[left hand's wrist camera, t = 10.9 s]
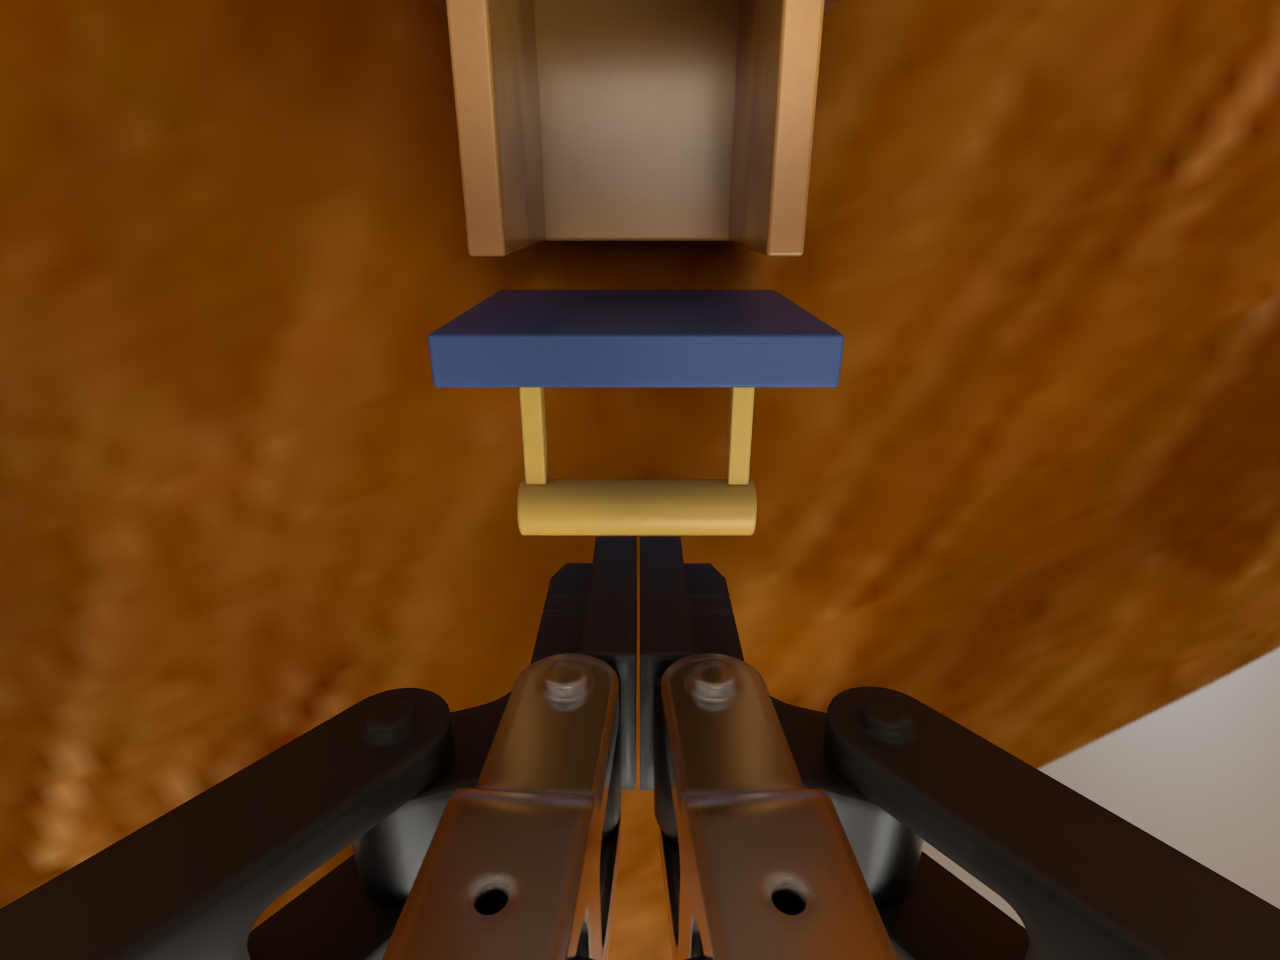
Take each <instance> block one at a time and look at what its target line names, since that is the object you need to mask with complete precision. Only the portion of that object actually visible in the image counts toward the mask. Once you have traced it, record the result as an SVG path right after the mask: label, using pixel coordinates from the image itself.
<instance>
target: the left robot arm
mask: <svg viewBox="0 0 1280 960" xmlns="http://www.w3.org/2000/svg"><path fill="white" fill-rule="evenodd" d="M732 611H733V610H732V606H731V601H730V599H729V593H728V588H727V584H726V579H725V578H724V577H723V576H722V575H721V574H720V573H719V572H718V571H717V570H716V569H715V568H714V567H713V566H712V565H711V564H683V555H682V547H681V539H680V537H640V790H654V807H655V817H656V820H657V822H658V824H659V845H660V853H661V862H662V870H663V879H664V887H665V896H666V904H667V913H668V921H669V930H670V938H671V947H672V955H673V960H1280V909H1278V908H1276V907H1275V906H1273V905H1271V904H1269V903H1268V902H1266V901H1264V900H1263V899H1261V898H1259V897H1257V896H1256V895H1254V894H1252V893H1250V892H1249V891H1247V890H1245V889H1244V888H1242V887H1240V886H1238V885H1237V884H1235V883H1233V882H1231V881H1230V880H1228V879H1226V878H1224V877H1223V876H1221V875H1219V874H1218V873H1216V872H1214V871H1212V870H1211V869H1209V868H1207V867H1205V866H1204V865H1202V864H1200V863H1199V862H1197V861H1195V860H1193V859H1192V858H1190V857H1188V856H1186V855H1185V854H1183V853H1181V852H1179V851H1178V850H1176V849H1174V848H1173V847H1171V846H1169V845H1167V844H1166V843H1164V842H1162V841H1160V840H1159V839H1157V838H1155V837H1153V836H1152V835H1150V834H1148V833H1147V832H1145V831H1143V830H1141V829H1140V828H1138V827H1136V826H1134V825H1133V824H1131V823H1129V822H1127V821H1126V820H1124V819H1122V818H1121V817H1119V816H1117V815H1115V814H1114V813H1112V812H1110V811H1108V810H1107V809H1105V808H1103V807H1102V806H1100V805H1098V804H1096V803H1095V802H1093V801H1091V800H1089V799H1088V798H1086V797H1084V796H1083V795H1081V794H1079V793H1077V792H1076V791H1074V790H1072V789H1070V788H1069V787H1067V786H1065V785H1063V784H1062V783H1060V782H1058V781H1056V780H1055V779H1053V778H1051V777H1050V776H1048V775H1046V774H1044V773H1043V772H1041V771H1039V770H1037V769H1036V768H1034V767H1032V766H1031V765H1029V764H1027V763H1025V762H1024V761H1022V760H1020V759H1018V758H1017V757H1015V756H1013V755H1012V754H1010V753H1008V752H1006V751H1005V750H1003V749H1001V748H999V747H998V746H996V745H994V744H992V743H991V742H989V741H987V740H986V739H984V738H982V737H980V736H979V735H977V734H975V733H973V732H972V731H970V730H968V729H966V728H965V727H963V726H961V725H960V724H958V723H956V722H954V721H953V720H951V719H949V718H947V717H946V716H944V715H942V714H941V713H939V712H937V711H935V710H934V709H932V708H930V707H928V706H927V705H925V704H923V703H921V702H920V701H918V700H916V699H914V698H912V697H910V696H908V695H906V694H903V693H901V692H898V691H894V690H891V689H887V688H881V687H857V688H852V689H848V690H845V691H843V692H841V693H839V694H838V695H837V696H836V697H834V698H833V700H832V701H831V702H830V704H829V707H828V712H827V713H823V712H818V711H814V710H810V709H805V708H801V707H797V706H793V705H790V704H787V703H784V702H782V701H779V700H777V699H775V698H773V697H771V696H770V695H769V692H768V690H767V687H766V684H765V682H764V680H763V678H762V676H761V675H760V674H759V673H758V671H756V670H755V669H754V668H753V667H752V666H750V665H749V664H747V663H746V662H744V658H743V654H742V649H741V645H740V641H739V636H738V632H737V628H736V623H735V619H734V614H733V612H732ZM636 660H637V542H636V536H597V537H596V542H595V550H594V557H593V563H566V564H565V565H564V566H563V567H562V568H561V569H560V570H559V571H558V572H557V573H556V574H555V575H554V576H553V577H552V578H551V581H550V585H549V589H548V593H547V599H546V602H545V606H544V613H543V614H542V618H541V623H540V627H539V631H538V635H537V639H536V644H535V648H534V652H533V656H532V660H531V665H530V666H528V667H527V668H526V669H525V670H524V671H522V673H521V674H520V675H519V676H518V678H517V680H516V682H515V684H514V687H513V690H512V691H511V692H510V693H508V694H507V695H505V696H504V697H502V698H500V699H498V700H496V701H493V702H490V703H488V704H485V705H481V706H477V707H473V708H469V709H464V710H460V711H456V712H451V713H450V710H449V707H448V705H447V703H446V702H445V701H444V699H442V698H441V697H440V696H439V695H437V694H435V693H433V692H431V691H428V690H424V689H418V688H401V689H394V690H388V691H385V692H381V693H378V694H375V695H373V696H370V697H368V698H366V699H364V700H362V701H360V702H359V703H357V704H355V705H353V706H352V707H350V708H348V709H346V710H345V711H343V712H341V713H339V714H338V715H336V716H334V717H333V718H331V719H329V720H327V721H326V722H324V723H322V724H320V725H319V726H317V727H315V728H313V729H312V730H310V731H308V732H307V733H305V734H303V735H301V736H300V737H298V738H296V739H294V740H293V741H291V742H289V743H288V744H286V745H284V746H282V747H281V748H279V749H277V750H275V751H274V752H272V753H270V754H268V755H267V756H265V757H263V758H262V759H260V760H258V761H256V762H255V763H253V764H251V765H249V766H248V767H246V768H244V769H242V770H241V771H239V772H237V773H236V774H234V775H232V776H230V777H229V778H227V779H225V780H223V781H222V782H220V783H218V784H217V785H215V786H213V787H211V788H210V789H208V790H206V791H204V792H203V793H201V794H199V795H197V796H196V797H194V798H192V799H191V800H189V801H187V802H185V803H184V804H182V805H180V806H178V807H177V808H175V809H173V810H171V811H170V812H168V813H166V814H165V815H163V816H161V817H159V818H158V819H156V820H154V821H152V822H151V823H149V824H147V825H146V826H144V827H142V828H140V829H139V830H137V831H135V832H133V833H132V834H130V835H128V836H126V837H125V838H123V839H121V840H120V841H118V842H116V843H114V844H113V845H111V846H109V847H107V848H106V849H104V850H102V851H100V852H99V853H97V854H95V855H94V856H92V857H90V858H88V859H87V860H85V861H83V862H81V863H80V864H78V865H76V866H75V867H73V868H71V869H69V870H68V871H66V872H64V873H62V874H61V875H59V876H57V877H55V878H54V879H52V880H50V881H49V882H47V883H45V884H43V885H42V886H40V887H38V888H36V889H35V890H33V891H31V892H29V893H28V894H26V895H24V896H23V897H21V898H19V899H17V900H16V901H14V902H12V903H10V904H9V905H7V906H5V907H4V908H2V909H0V960H607V955H608V947H609V938H610V930H611V921H612V913H613V904H614V896H615V887H616V879H617V870H618V862H619V853H620V845H621V789H635V788H636ZM924 840H925V841H926V842H928V843H929V844H930V845H932V846H933V847H934V848H936V849H937V850H938V851H940V852H941V853H943V854H944V855H945V856H947V857H948V858H949V859H951V860H952V861H953V862H955V863H956V864H957V865H959V866H960V867H962V868H963V869H964V870H966V871H967V872H968V873H970V874H971V875H972V876H974V877H975V878H977V879H978V880H979V881H981V882H982V883H983V884H985V885H986V886H987V887H989V888H990V889H991V890H993V891H994V892H996V893H997V894H998V895H1000V896H1001V897H1002V898H1003V899H1004V900H1006V901H1007V902H1008V903H1009V904H1010V905H1011V906H1012V908H1013V909H1014V910H1015V911H1016V913H1017V914H1018V915H1019V917H1020V918H1021V920H1022V922H1023V923H1024V925H1025V928H1026V929H1025V928H1024V927H1022V926H1021V925H1020V924H1018V923H1017V922H1016V921H1014V920H1013V919H1012V918H1010V917H1009V916H1008V915H1006V914H1005V913H1004V912H1002V911H1001V910H1000V909H998V908H997V907H996V906H994V905H993V904H992V903H990V902H989V901H988V900H986V899H985V898H984V897H982V896H981V895H980V894H978V893H977V892H976V891H974V890H973V889H972V888H970V887H969V886H968V885H966V884H965V883H964V882H962V881H961V880H960V879H958V878H957V877H956V876H954V875H953V874H952V873H950V872H949V871H948V870H946V869H945V868H944V867H942V866H941V865H940V864H938V863H937V862H936V861H934V860H933V859H932V858H930V857H929V856H928V855H926V854H925V853H924V852H922V846H923V842H924ZM351 843H352V848H353V852H354V855H352V856H351V857H350V858H348V859H347V860H346V861H344V862H343V863H342V864H340V865H339V866H338V867H336V868H335V869H334V870H332V871H331V872H330V873H328V874H327V875H326V876H324V877H323V878H322V879H320V880H319V881H318V882H316V883H315V884H314V885H312V886H311V887H310V888H308V889H307V890H306V891H304V892H303V893H302V894H300V895H299V896H298V897H296V898H295V899H294V900H292V901H291V902H290V903H288V904H287V905H286V906H284V907H283V908H282V909H280V910H279V911H278V912H276V913H275V914H274V915H272V916H271V917H270V918H268V919H267V920H266V921H264V922H263V923H262V924H260V925H259V926H258V927H256V928H255V929H254V930H252V931H251V928H252V926H253V925H254V923H255V921H256V920H257V918H258V917H259V916H260V914H261V913H262V912H263V911H264V910H265V908H266V907H267V906H268V905H269V904H270V903H271V902H273V901H274V900H275V899H276V898H278V897H279V896H280V895H282V894H283V893H284V892H286V891H287V890H289V889H290V888H291V887H293V886H294V885H295V884H297V883H298V882H299V881H301V880H302V879H303V878H305V877H306V876H308V875H309V874H310V873H312V872H313V871H314V870H316V869H317V868H318V867H320V866H321V865H323V864H324V863H325V862H327V861H328V860H329V859H331V858H332V857H333V856H335V855H336V854H337V853H339V852H340V851H342V850H343V849H344V848H346V847H347V846H348V845H350V844H351ZM250 931H251V932H250Z"/></svg>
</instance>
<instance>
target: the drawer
mask: <svg viewBox="0 0 1280 960" xmlns="http://www.w3.org/2000/svg"><path fill="white" fill-rule="evenodd" d="M824 3H825V0H446V7H447V18H448V29H449V41H450V52H451V63H452V75H453V86H454V97H455V108H456V120H457V131H458V142H459V154H460V165H461V176H462V188H463V199H464V210H465V221H466V233H467V244H468V253H469V255H470V256H472V257H502V256H505V255H508V254H510V253H513V252H516V251H518V250H521V249H524V248H526V247H529V246H532V245H534V244H537V243H539V242H542V241H732V242H735V243H737V244H740V245H742V246H745V247H747V248H750V249H752V250H755V251H757V252H760V253H762V254H765V255H767V256H770V257H799V256H801V255H802V254H803V252H804V240H805V228H806V216H807V204H808V193H809V181H810V169H811V157H812V145H813V133H814V121H815V109H816V98H817V86H818V74H819V62H820V50H821V38H822V26H823V15H824ZM428 342H429V351H430V359H431V368H432V377H433V384H434V386H435V387H519V394H520V409H521V424H522V438H523V453H524V468H525V480H522V481H521V483H520V486H519V490H518V499H517V517H518V526H519V530H520V533H521V534H522V535H752V534H753V533H754V530H755V525H756V515H757V502H756V491H755V486H754V483H753V481H752V480H749V468H750V452H751V437H752V421H753V405H754V389H755V387H837V386H838V384H839V378H840V369H841V360H842V351H843V342H844V336H843V334H841V333H840V332H838V331H837V330H835V329H834V328H832V327H831V326H829V325H827V324H826V323H824V322H823V321H821V320H820V319H818V318H816V317H815V316H813V315H812V314H810V313H809V312H807V311H806V310H804V309H802V308H801V307H799V306H798V305H796V304H795V303H793V302H791V301H790V300H788V299H787V298H785V297H784V296H782V295H781V294H779V293H777V292H776V291H774V290H501V291H499V292H497V293H496V294H494V295H492V296H491V297H489V298H487V299H486V300H484V301H483V302H481V303H479V304H478V305H476V306H474V307H473V308H471V309H470V310H468V311H466V312H465V313H463V314H461V315H460V316H458V317H457V318H455V319H453V320H452V321H450V322H448V323H447V324H445V325H444V326H442V327H440V328H439V329H437V330H435V331H434V332H432V333H431V334H429V336H428ZM544 387H730V400H729V420H728V440H727V460H726V479H727V480H547V479H548V462H547V443H546V424H545V406H544Z"/></svg>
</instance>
